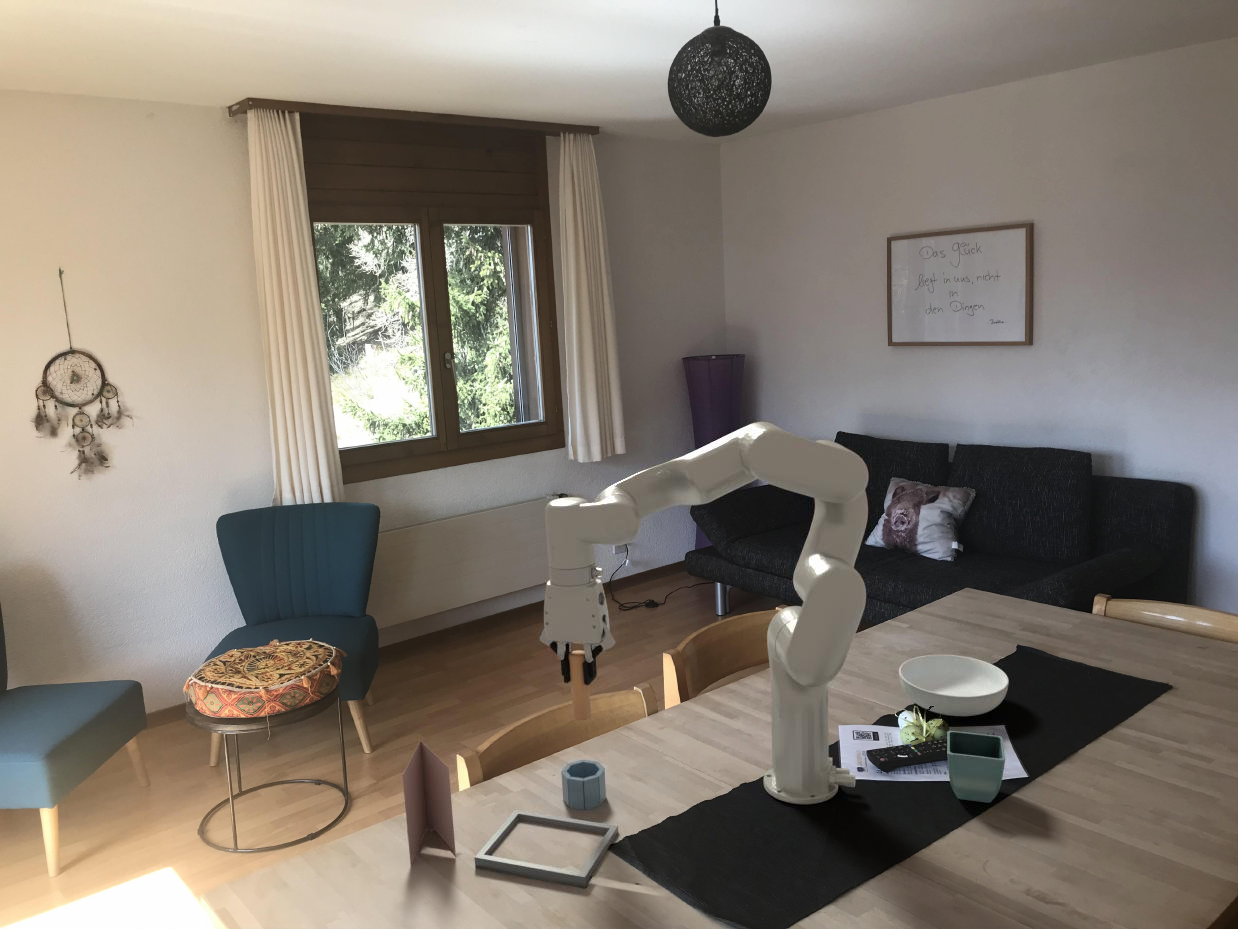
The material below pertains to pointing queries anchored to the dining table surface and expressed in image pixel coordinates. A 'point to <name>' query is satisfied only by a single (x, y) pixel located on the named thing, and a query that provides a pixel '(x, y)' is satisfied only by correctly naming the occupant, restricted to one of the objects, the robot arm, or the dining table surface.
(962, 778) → the flower pot
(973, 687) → the serving bowl
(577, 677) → the dowel
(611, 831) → the grey rectangular frame
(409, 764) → the greeting card
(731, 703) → the dining table surface
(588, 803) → the cup
